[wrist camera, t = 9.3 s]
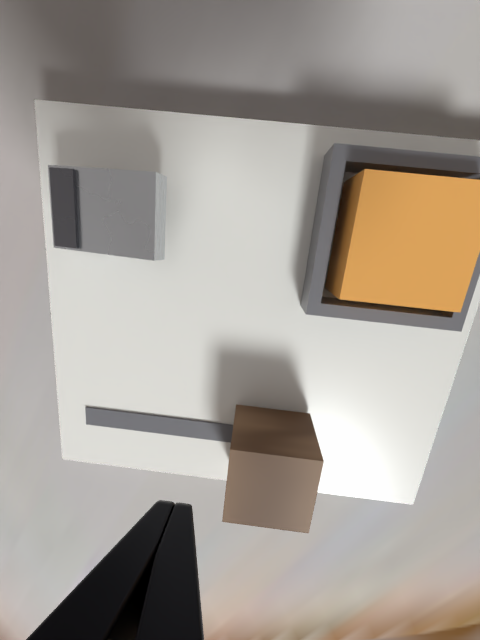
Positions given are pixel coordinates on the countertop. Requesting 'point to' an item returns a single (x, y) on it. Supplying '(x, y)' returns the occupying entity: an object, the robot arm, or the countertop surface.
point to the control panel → (244, 301)
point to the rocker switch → (108, 211)
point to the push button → (405, 240)
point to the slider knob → (272, 469)
